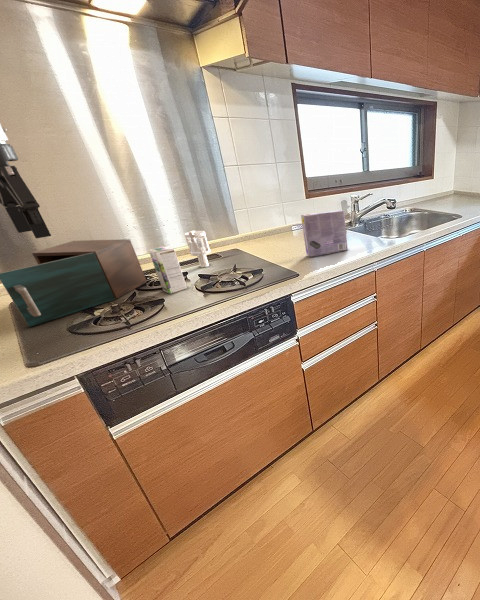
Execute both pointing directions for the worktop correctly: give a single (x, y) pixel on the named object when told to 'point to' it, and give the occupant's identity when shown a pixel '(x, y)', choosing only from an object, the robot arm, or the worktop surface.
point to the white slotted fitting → (198, 246)
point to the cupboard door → (57, 288)
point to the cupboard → (103, 261)
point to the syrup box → (168, 269)
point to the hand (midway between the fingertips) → (34, 234)
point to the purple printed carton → (324, 233)
